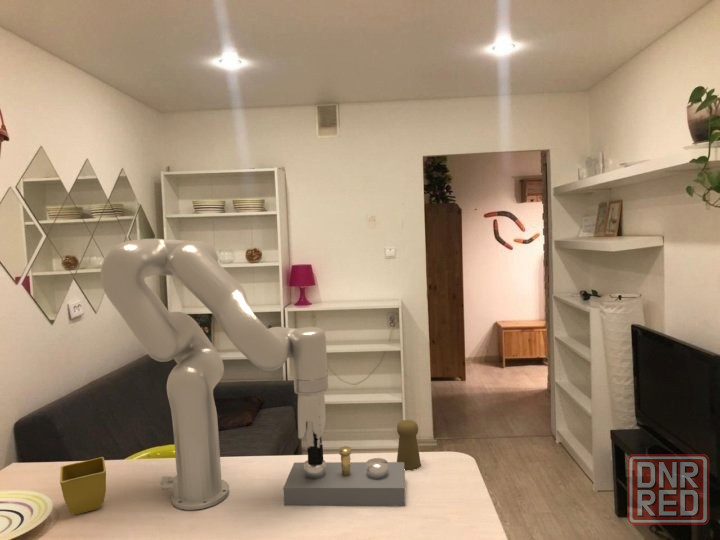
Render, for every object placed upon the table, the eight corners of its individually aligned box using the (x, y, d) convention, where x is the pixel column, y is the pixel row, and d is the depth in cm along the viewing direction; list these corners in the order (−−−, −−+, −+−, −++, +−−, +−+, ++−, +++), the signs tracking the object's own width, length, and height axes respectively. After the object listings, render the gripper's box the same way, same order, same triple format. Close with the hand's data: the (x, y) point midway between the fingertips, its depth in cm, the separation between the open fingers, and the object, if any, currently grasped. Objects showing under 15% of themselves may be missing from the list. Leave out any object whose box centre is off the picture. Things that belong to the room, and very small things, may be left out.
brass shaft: (339, 477, 121) (338, 451, 121) (341, 471, 124) (339, 446, 123) (351, 477, 121) (350, 451, 120) (352, 471, 124) (351, 446, 123)
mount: (284, 505, 118) (283, 487, 118) (295, 478, 130) (294, 462, 129) (405, 505, 116) (404, 488, 116) (404, 478, 128) (404, 462, 127)
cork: (419, 471, 131) (418, 427, 130) (394, 469, 132) (393, 426, 131) (422, 460, 137) (420, 417, 136) (398, 458, 138) (396, 416, 137)
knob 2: (366, 495, 120) (365, 467, 119) (367, 484, 125) (366, 458, 124) (388, 495, 120) (387, 467, 119) (388, 484, 124) (388, 458, 124)
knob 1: (303, 495, 121) (302, 468, 121) (307, 484, 126) (306, 458, 125) (325, 495, 121) (323, 468, 120) (328, 484, 126) (326, 458, 125)
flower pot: (63, 522, 115) (59, 482, 114) (64, 504, 122) (60, 465, 121) (109, 511, 119) (106, 471, 118) (107, 493, 126) (104, 456, 125)
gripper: (300, 374, 129) (305, 448, 130) (287, 395, 114) (292, 479, 116) (332, 373, 128) (336, 448, 130) (323, 394, 113) (328, 479, 115)
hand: (315, 462), depth 123 cm, fingers closed
